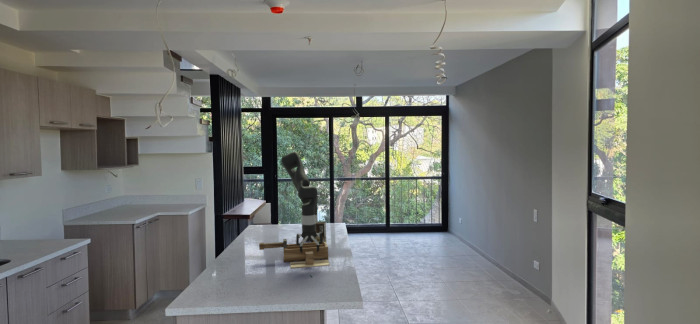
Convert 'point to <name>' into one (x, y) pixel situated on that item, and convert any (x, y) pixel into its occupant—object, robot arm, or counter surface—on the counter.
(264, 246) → the brown block
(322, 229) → the coffee box
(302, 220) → the robot arm
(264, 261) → the counter surface
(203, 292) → the counter surface
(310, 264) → the lid
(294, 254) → the wooden box
